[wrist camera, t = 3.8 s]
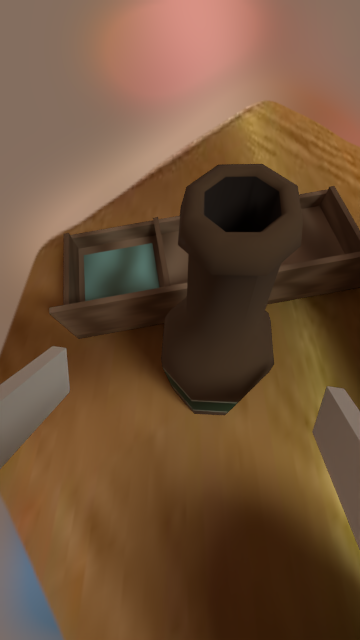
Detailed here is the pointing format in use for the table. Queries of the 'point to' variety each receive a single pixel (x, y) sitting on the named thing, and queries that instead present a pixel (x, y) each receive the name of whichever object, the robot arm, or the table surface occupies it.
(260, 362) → the beer bottle
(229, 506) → the table surface
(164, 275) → the condiment rack
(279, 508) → the table surface
